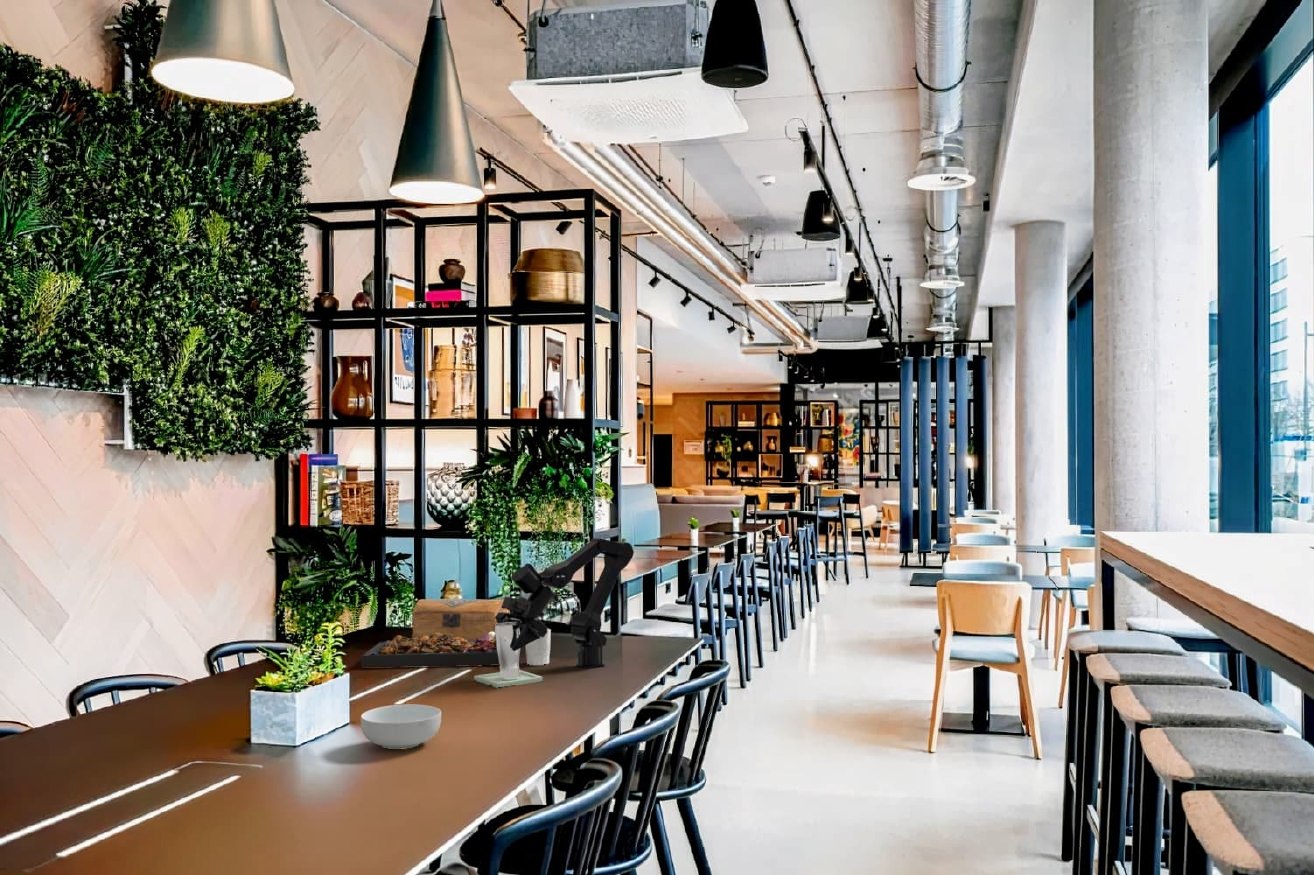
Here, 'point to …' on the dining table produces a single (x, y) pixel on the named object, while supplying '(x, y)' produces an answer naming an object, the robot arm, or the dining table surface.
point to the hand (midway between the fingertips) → (503, 648)
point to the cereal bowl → (400, 725)
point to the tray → (496, 682)
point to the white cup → (539, 650)
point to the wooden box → (456, 617)
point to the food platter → (432, 651)
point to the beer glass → (507, 650)
